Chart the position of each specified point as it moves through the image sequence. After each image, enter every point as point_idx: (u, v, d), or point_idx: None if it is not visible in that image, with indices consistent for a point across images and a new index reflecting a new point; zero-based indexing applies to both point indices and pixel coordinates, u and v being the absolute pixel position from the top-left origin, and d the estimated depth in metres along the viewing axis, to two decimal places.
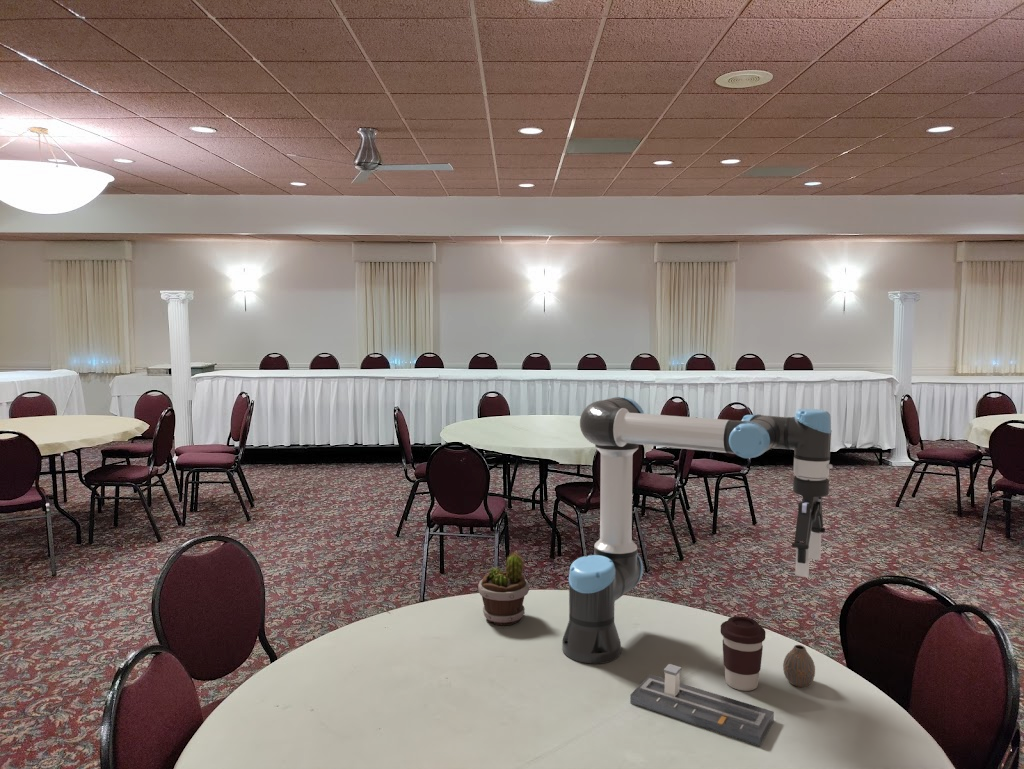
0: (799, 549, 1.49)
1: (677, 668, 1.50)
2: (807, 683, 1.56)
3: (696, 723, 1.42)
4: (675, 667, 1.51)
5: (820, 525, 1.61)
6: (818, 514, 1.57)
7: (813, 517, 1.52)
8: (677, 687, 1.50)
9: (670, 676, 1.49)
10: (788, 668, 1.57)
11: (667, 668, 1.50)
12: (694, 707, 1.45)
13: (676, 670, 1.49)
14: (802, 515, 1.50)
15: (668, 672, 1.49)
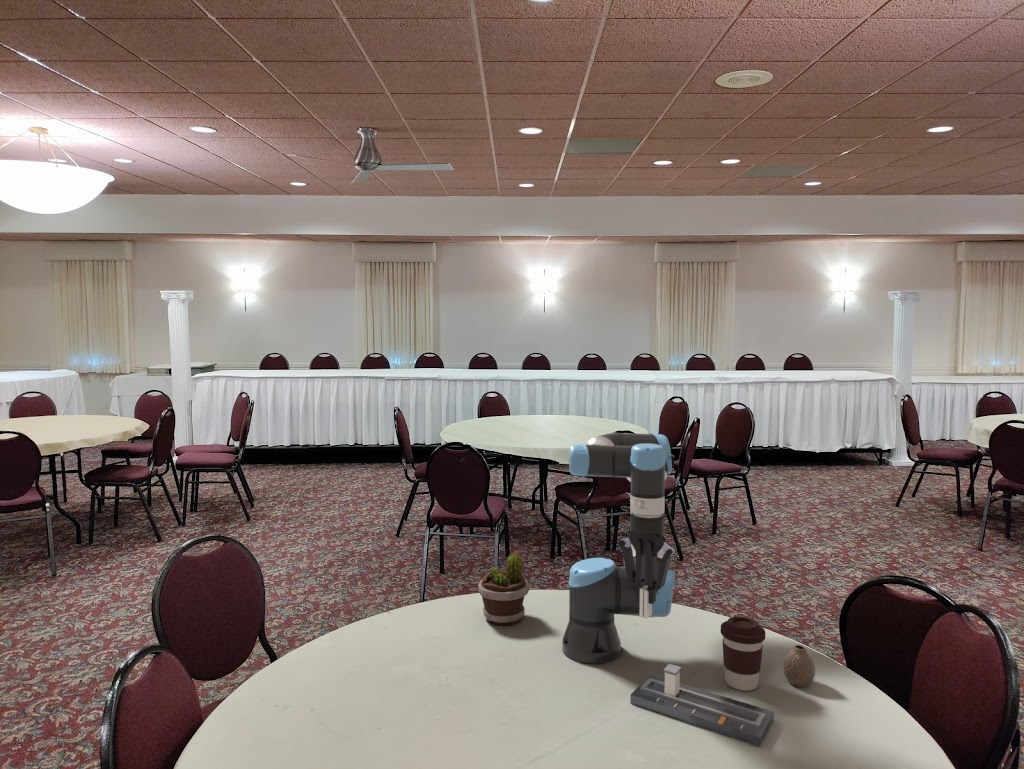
0: None
1: (677, 668, 1.50)
2: (807, 683, 1.56)
3: (696, 723, 1.42)
4: (675, 667, 1.51)
5: (650, 580, 1.50)
6: None
7: None
8: (677, 687, 1.50)
9: (670, 676, 1.49)
10: (788, 668, 1.57)
11: (667, 668, 1.50)
12: (694, 707, 1.45)
13: (676, 670, 1.49)
14: None
15: (668, 672, 1.49)
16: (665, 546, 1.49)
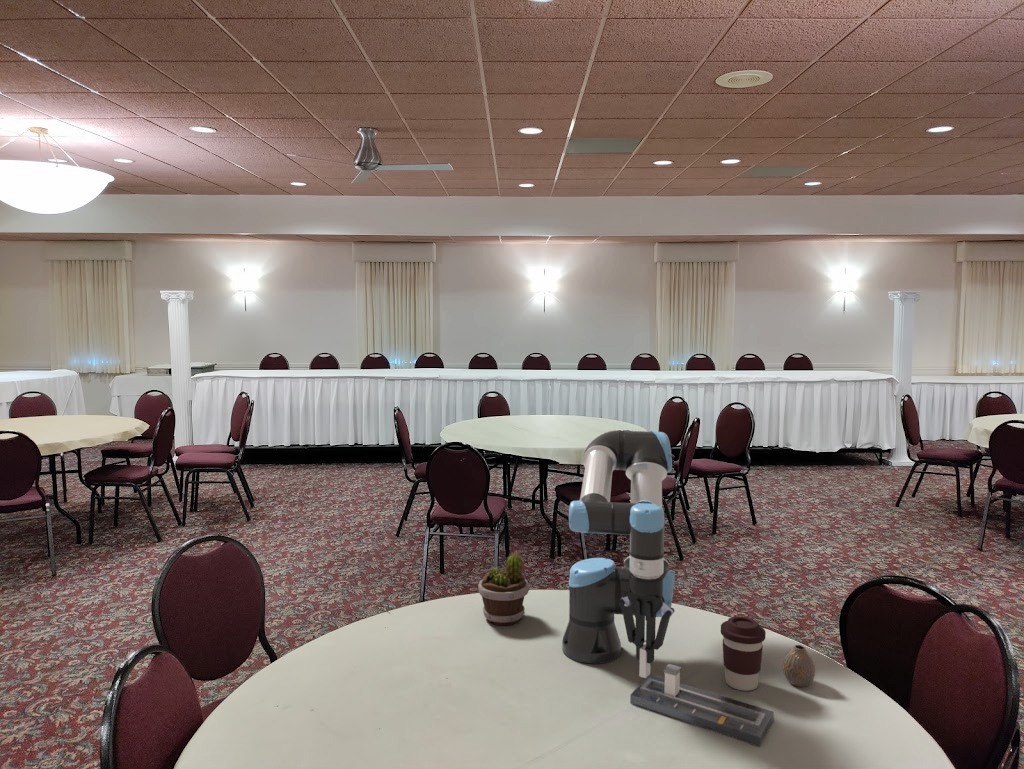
0: None
1: (677, 668, 1.50)
2: (807, 683, 1.56)
3: (696, 723, 1.42)
4: (675, 667, 1.51)
5: (648, 640, 1.51)
6: None
7: None
8: (677, 687, 1.50)
9: (670, 676, 1.49)
10: (788, 668, 1.57)
11: (667, 668, 1.50)
12: (694, 707, 1.45)
13: (676, 670, 1.49)
14: None
15: (668, 672, 1.49)
16: (664, 607, 1.50)
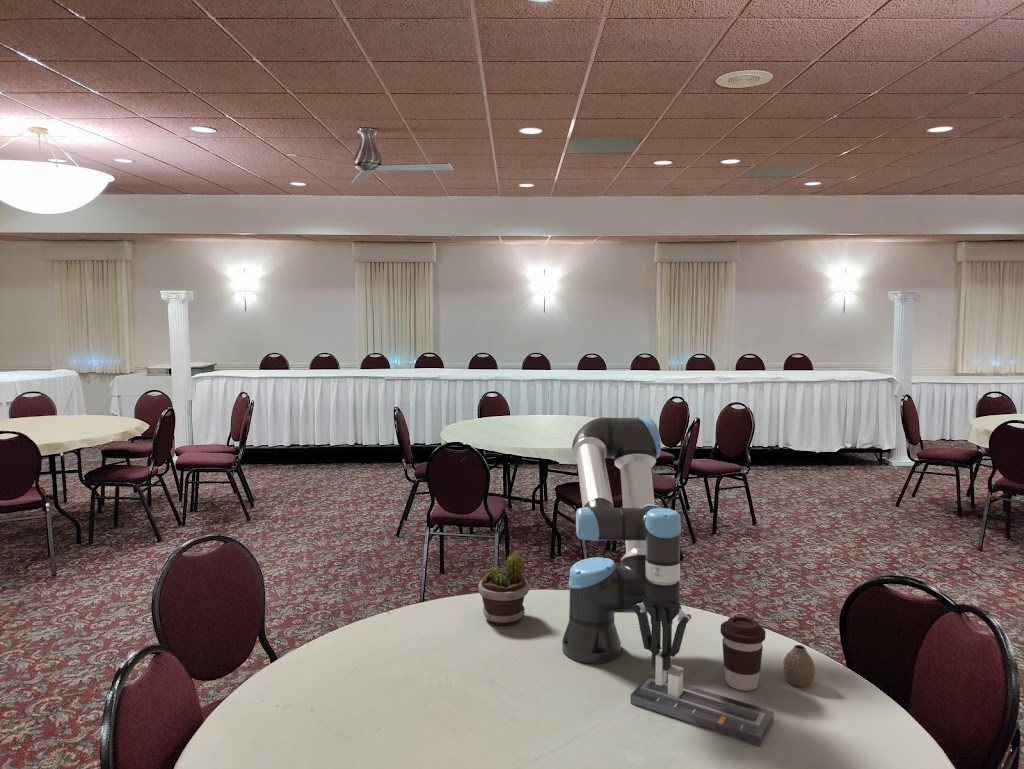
0: None
1: (680, 669, 1.50)
2: (807, 683, 1.56)
3: (696, 723, 1.42)
4: (678, 668, 1.50)
5: (664, 647, 1.49)
6: None
7: None
8: (680, 688, 1.49)
9: (673, 677, 1.49)
10: (788, 668, 1.57)
11: (670, 669, 1.50)
12: (694, 707, 1.45)
13: (679, 671, 1.49)
14: None
15: (672, 673, 1.48)
16: (680, 613, 1.47)
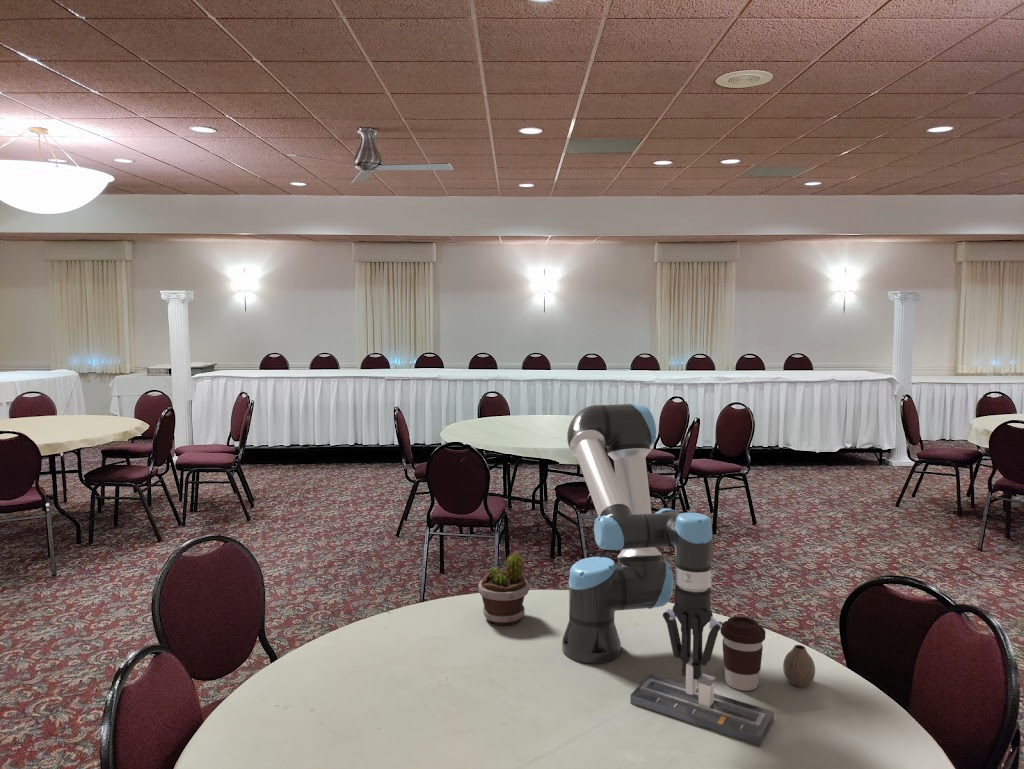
0: None
1: (711, 678, 1.46)
2: (807, 683, 1.56)
3: (696, 723, 1.42)
4: (709, 677, 1.46)
5: (695, 655, 1.45)
6: None
7: None
8: (711, 698, 1.46)
9: (705, 686, 1.45)
10: (788, 668, 1.57)
11: (701, 678, 1.46)
12: (694, 707, 1.45)
13: (711, 680, 1.45)
14: None
15: (703, 682, 1.45)
16: (712, 621, 1.43)
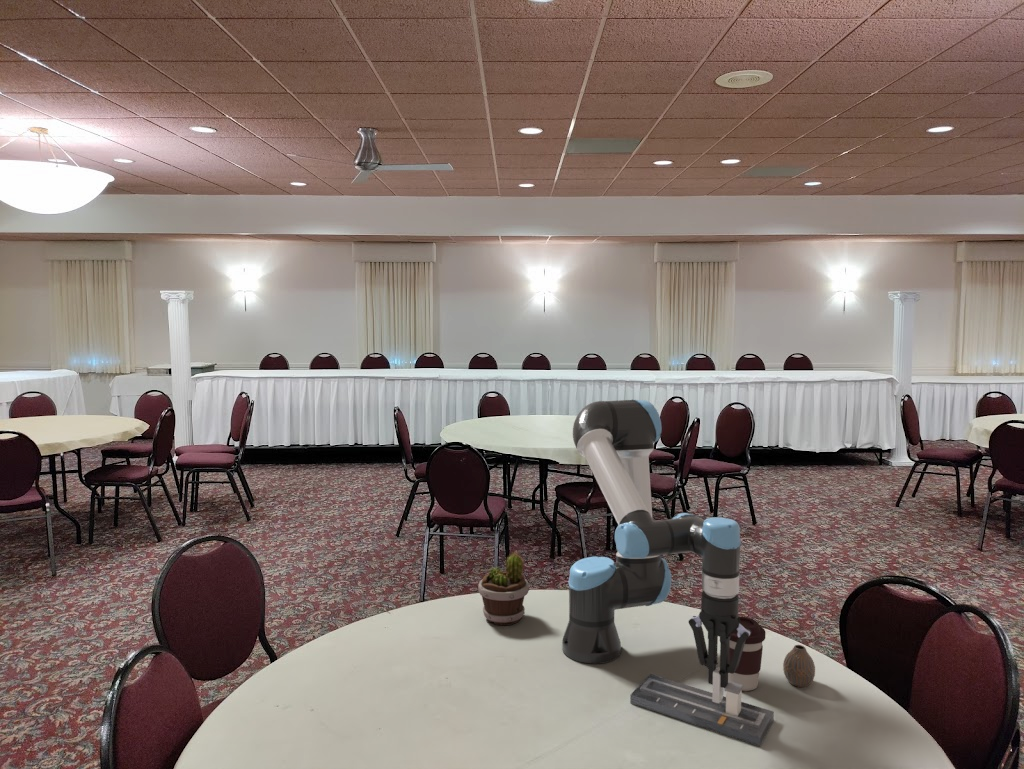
0: None
1: (739, 686, 1.42)
2: (807, 683, 1.56)
3: (696, 723, 1.42)
4: (737, 685, 1.43)
5: (722, 663, 1.42)
6: None
7: None
8: (739, 706, 1.42)
9: (732, 695, 1.41)
10: (788, 668, 1.57)
11: (728, 686, 1.42)
12: (694, 707, 1.45)
13: (738, 688, 1.42)
14: None
15: (730, 691, 1.41)
16: (740, 628, 1.40)
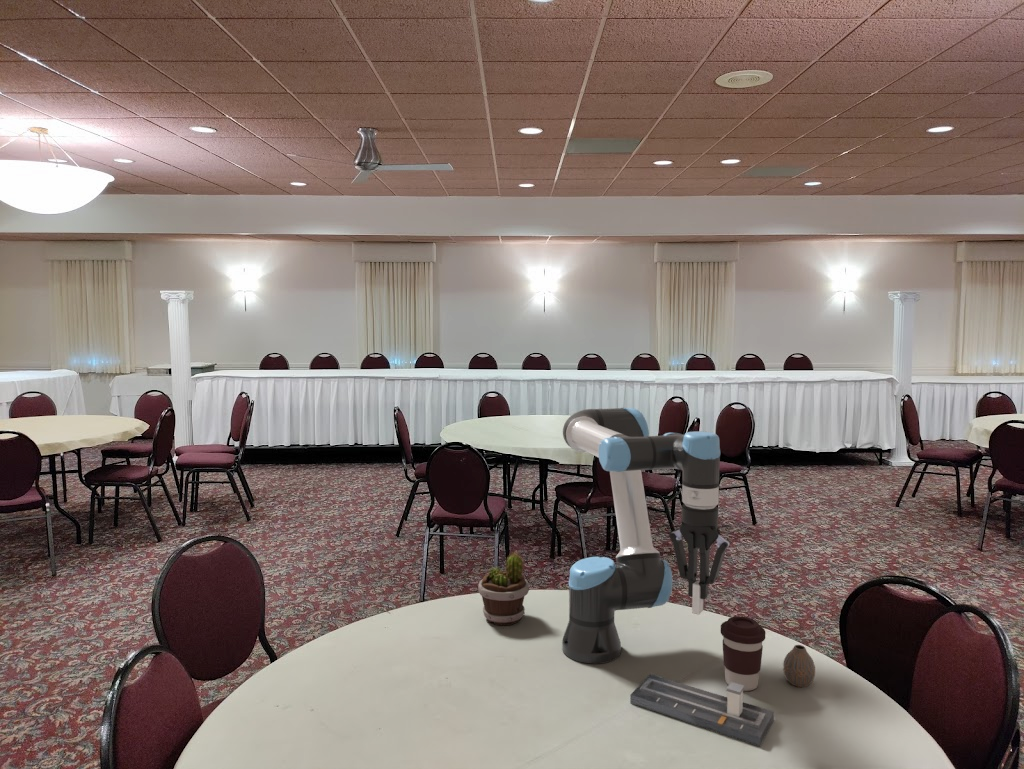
0: None
1: (740, 687, 1.42)
2: (807, 683, 1.56)
3: (696, 723, 1.42)
4: (738, 685, 1.43)
5: (702, 574, 1.44)
6: None
7: None
8: (740, 707, 1.42)
9: (734, 695, 1.41)
10: (788, 668, 1.57)
11: (730, 687, 1.42)
12: (694, 707, 1.45)
13: (740, 689, 1.41)
14: None
15: (732, 691, 1.41)
16: (720, 539, 1.42)
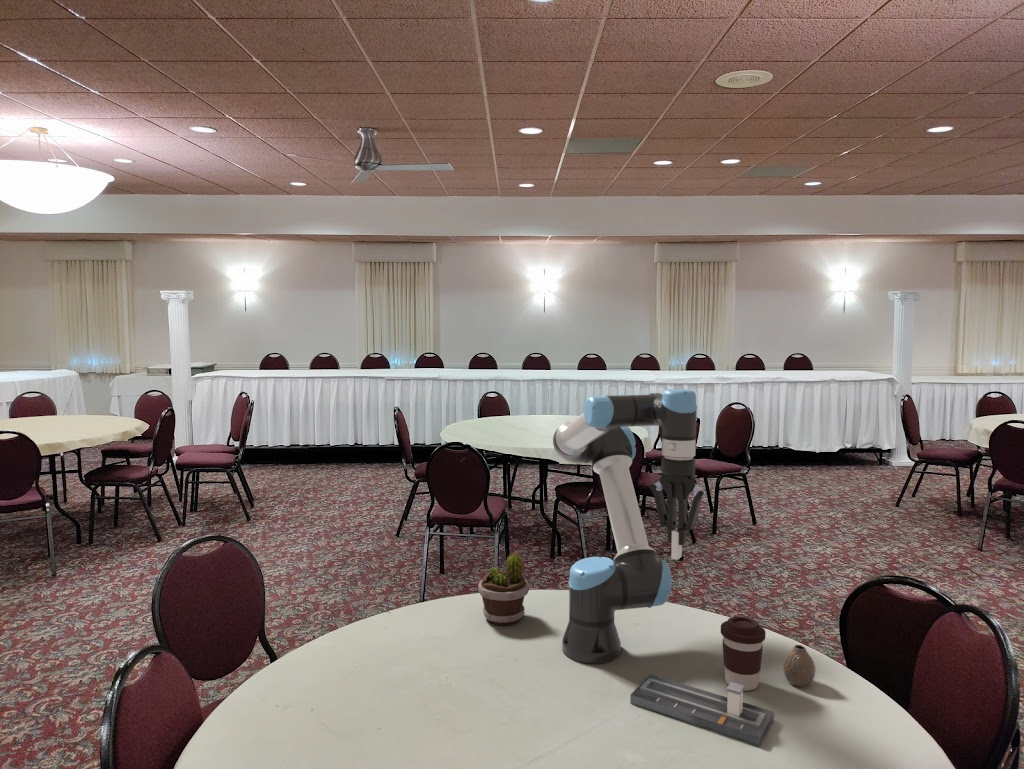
0: None
1: (740, 687, 1.42)
2: (807, 683, 1.56)
3: (696, 723, 1.42)
4: (738, 685, 1.43)
5: (680, 522, 1.54)
6: None
7: None
8: (740, 707, 1.42)
9: (734, 695, 1.41)
10: (788, 668, 1.57)
11: (730, 687, 1.42)
12: (694, 707, 1.45)
13: (740, 689, 1.41)
14: None
15: (732, 691, 1.41)
16: (696, 488, 1.52)
